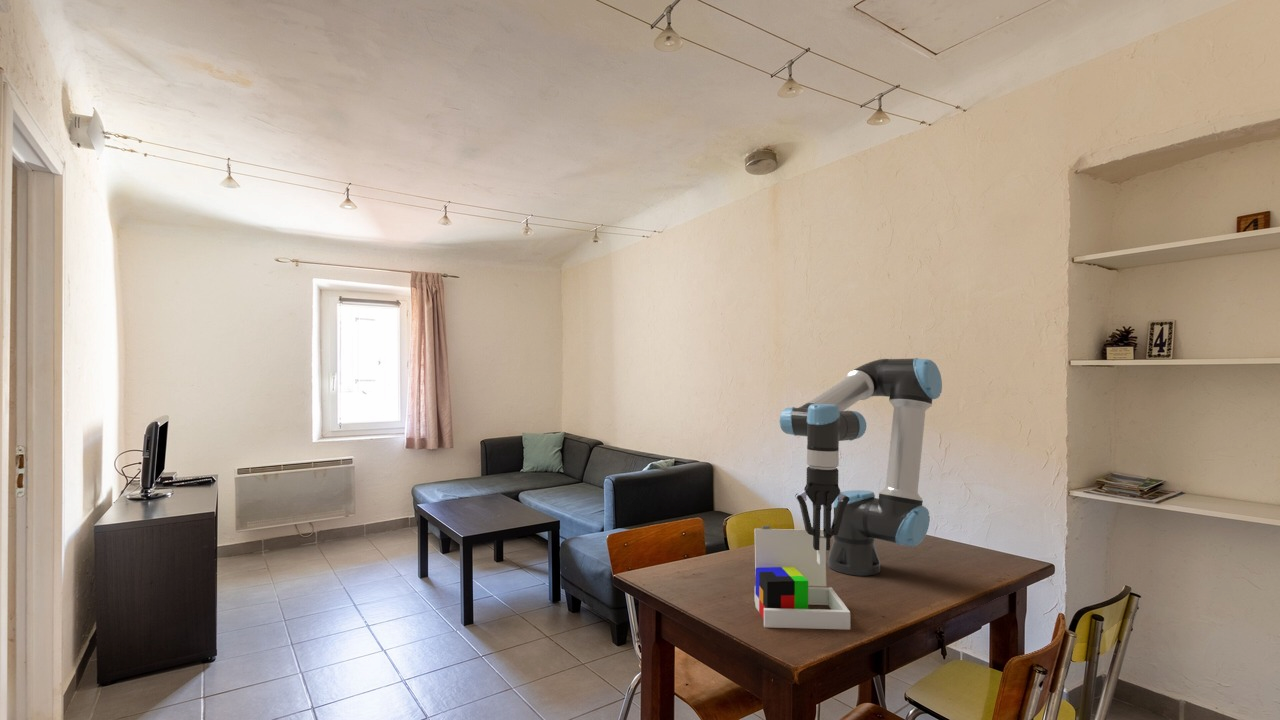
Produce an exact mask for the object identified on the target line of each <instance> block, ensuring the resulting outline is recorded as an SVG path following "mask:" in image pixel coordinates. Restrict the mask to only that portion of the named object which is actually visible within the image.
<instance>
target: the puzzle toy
mask: <svg viewBox="0 0 1280 720" xmlns="http://www.w3.org/2000/svg"><path fill="white" fill-rule="evenodd" d="M755 586H756V596H755V595H754V604H755V605H754V606H755V609H756V610H757V611H758V613H759V614H760V616H761V617H762V618H763V619H764V608H781V609H809V605H808V587H809V586H808V580H807V579H806V578H805V577H804V576H803V575H802V574H801V573H800V572H799V571H798V570H797V569H796V568H795V567H759V568H756V575H755Z"/></svg>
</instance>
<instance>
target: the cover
mask: <svg viewBox="0 0 1280 720" xmlns="http://www.w3.org/2000/svg"><path fill="white" fill-rule="evenodd" d="M811 527H812V529H813V526H811ZM820 535H823V536H824V534H823V529H820ZM754 565H755V566H754V567H755V568H754V569H755V570H754V572H755V576H756V568H759V567H795V568H796V569H797V570H798V571H799V572H800V573H801V574H802V575H803V576H804V577H805V578H806V579H807V580H808V587H827V568H826V566H827V564H826V565H819V563H818V562H817V550H815V549H814V548H813V535H809V534H808V533H807V532H806V530H805V529H796V528H795V529H792V528H790V529H789V528H788V529H786V528H785V529H784V528H783V529H782V528H771V526H770V525H762V526H761V528H754Z"/></svg>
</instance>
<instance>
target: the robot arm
mask: <svg viewBox="0 0 1280 720" xmlns="http://www.w3.org/2000/svg"><path fill="white" fill-rule="evenodd" d="M942 390H943V381H942V375H941V372H940V370H939V367H938V365H937V364H936V362H934V361H933V360H932V359H928V358H927V359H926V358H918V357H914V358H881V359H880V358H879V359H876V360H873V361H870V362H867V363H864V364H862V365H860V366H858V367H856V368H854V369H853V370H851V371H849V372H848V373H847V374H846V375H845V377H844V379H843V380H841V381H840V382H838V383H836V384H835V385H834V386H832V387H830V388H829V389H827V390H825V391H824V392H822V393H821V394H819V395H818V396H816V397H814V398H812V399H811V400H810V401H808V402H806V403H804V404H803V405H802V406H801V405H800V406H799V407H794V406H792V407H786V408H784V409H783V410H781V413H780V415H779V422H778V423H779V427H780V429H781V430H782V432H783V433H785V434H786V435H791V436H792V435H793V436H794V437H796V436H797V437H807V438H806V439H807V443H806V465H807V467H806V484H805V487H804V490H803V491H802V492H800V493H796V494H795V495H794V496H795V499H796V500H797V502H798V503H799V507H800V512H801V516H802V520H803V525H804V530H806V532H807V533H808V534H809V535H813V548H814V549H815V550H817V562H818V563H819V565H826V566H827V567H828V568H830V569H831V570H833V571H835V572H838V573H842V574H847V575H851V576H852V575H853V576H862V577H863V576H874V575H878V574H879V573H880V572H881V561H880V558H879V555H878V552H877V549H876V546H875V540H881V541H885V542H889V543H892V544H897V545H899V546H906V547H916V546H919V545H920V543H922V541H923V540H924V539H925V537H926V535H927V533H928V532H929V531H928V530H929V526H930V512H929V510H928V508H927V507H925V506H924V505H923V503H924V502H923V501H924V499H923V498H922V497H921V496H920V494H919V493H918V491H919V482H920V471H921V462H922V461H921V460H922V450H923V441H924V440H923V438H924V430H925V419H926V411H927V410H928V409H930V408H931V407H933V406H932V405H933V400H936V399H939V398H940V396H941V393H942ZM872 397H889V399H888V401H889V403H890V404H891V405H892V407H893V414H892V425H891V432H890V441H889V450H888V451H889V452H888V461H887V469H886V481H885V488H883V489H882V490H881V491H879V492H878V498H877V497H876V495H875V492H873V491H871V490H863V489H861V490H859V489H857V490H856V489H854V490H844V491H841V489H840V487H839V486H840V485H839V468H837V467H839V458H840V455H839V453H840V452H839V450H840V449H839V447H840V442H843V441H855V440H857V439H860V438H861V437H863V435H864V434H865V433H866V430H867V422H866V418H865V417H864V415H862V413H860V412H858V411H857V410H856V411H855V410H849V409H848V408H850V407H852V406H853V405H855V404H856V403H858V402H859V401H866V400H868V399H870V398H872ZM807 497H808V498H809V500H810V502H811V503H812V523H811V519H810V514H809V509H808V506H807V503H806V501H807ZM822 507H823V513H822V515H823V521H822V522H823V524H822V525H823V527H822V530H823V534H824V536H823V535H820V530H821V511H822ZM832 509H833V519H832ZM812 527H813V529H812ZM832 538H833V541H832V544H831V539H832ZM827 551H829V553H828V555H827Z"/></svg>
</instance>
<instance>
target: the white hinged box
mask: <svg viewBox="0 0 1280 720" xmlns="http://www.w3.org/2000/svg"><path fill="white" fill-rule="evenodd" d="M838 595H839V594H837V593H836V591H835V590H834V589H833V587H824V586H808V606H809V605H810V606H811V605H812V606H813V605H814V606H815V605H816V606H817V605H819V606H828V607H829V608H830V609H824V608H823V609H821V608H817V609H816V608H812V609H811V608H808V609H781V608H764V618H763V627H764V628H770V629H771V628H772V629H773V628H775V629H776V628H778V629H779V628H780V629H781V628H782V629H784V628H785V629H813V630H814V629H818V630H819V629H820V630H824V629H825V630H851V611H850V610H849V608H848V607H847V606H846V604H845V603H844V601H843V600H842V599H841V598H840V597H839V596H838ZM755 596H756V585H754V597H755Z"/></svg>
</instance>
